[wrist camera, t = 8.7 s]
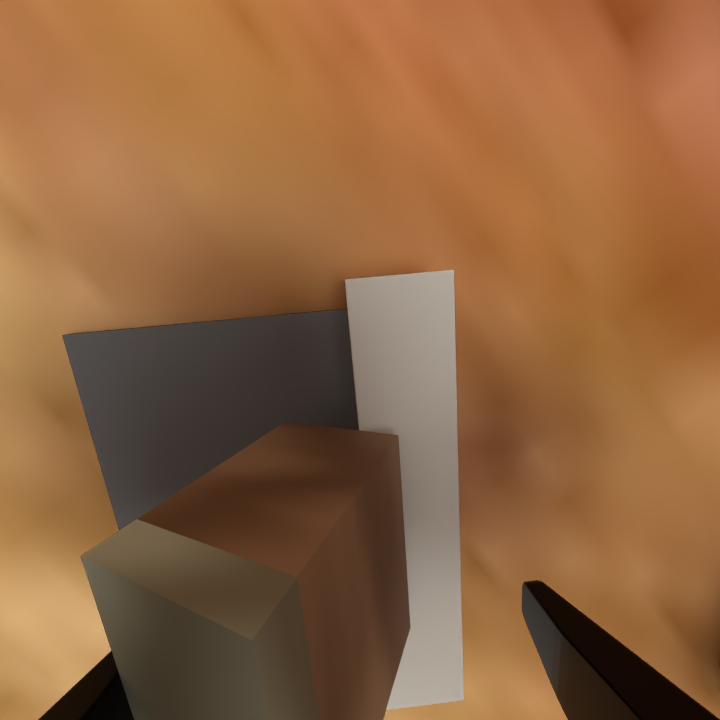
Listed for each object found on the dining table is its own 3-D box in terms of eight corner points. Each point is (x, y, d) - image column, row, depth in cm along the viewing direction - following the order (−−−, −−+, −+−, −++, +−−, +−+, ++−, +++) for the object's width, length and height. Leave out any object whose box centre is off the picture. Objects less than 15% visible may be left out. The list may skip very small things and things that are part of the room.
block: (398, 434, 10) (251, 640, 4) (410, 627, 11) (314, 950, 6) (285, 421, 11) (80, 556, 6) (309, 590, 13) (164, 814, 8)
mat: (347, 308, 12) (347, 309, 12) (376, 613, 15) (376, 619, 15) (69, 334, 12) (62, 335, 12) (156, 639, 15) (153, 646, 15)
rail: (427, 273, 12) (453, 269, 9) (441, 622, 16) (463, 699, 13) (344, 280, 12) (345, 279, 9) (377, 630, 16) (385, 710, 13)
